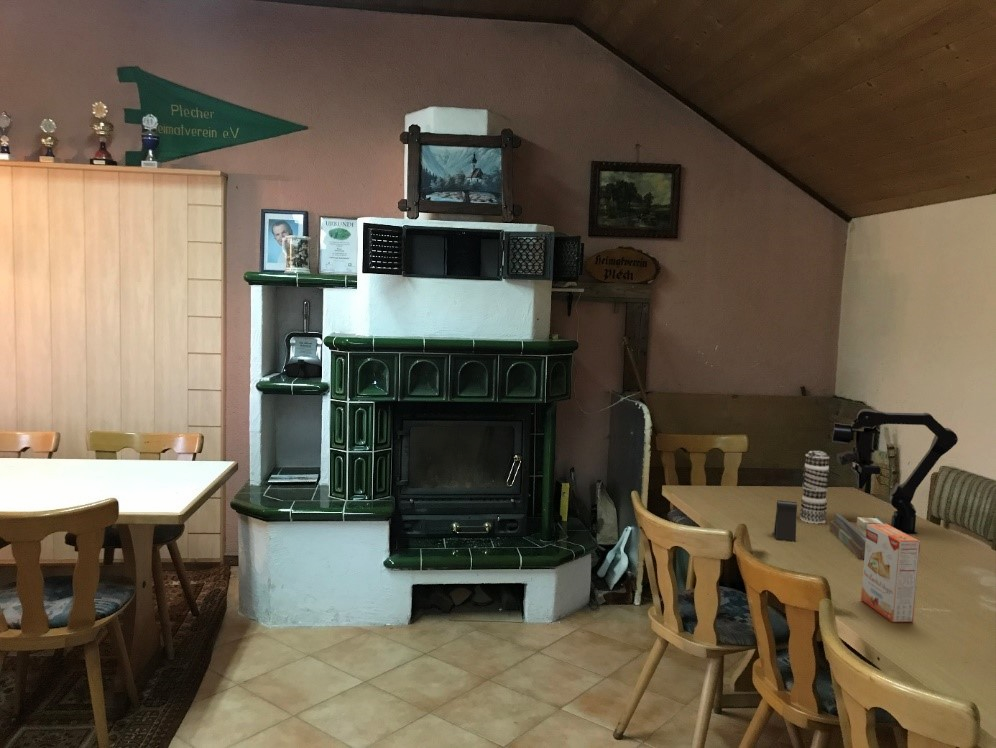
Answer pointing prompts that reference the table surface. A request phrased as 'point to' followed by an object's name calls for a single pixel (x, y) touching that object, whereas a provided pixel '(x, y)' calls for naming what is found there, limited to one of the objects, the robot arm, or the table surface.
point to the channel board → (850, 534)
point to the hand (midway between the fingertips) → (860, 488)
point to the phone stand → (785, 521)
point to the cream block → (865, 524)
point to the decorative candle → (815, 487)
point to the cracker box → (890, 572)
